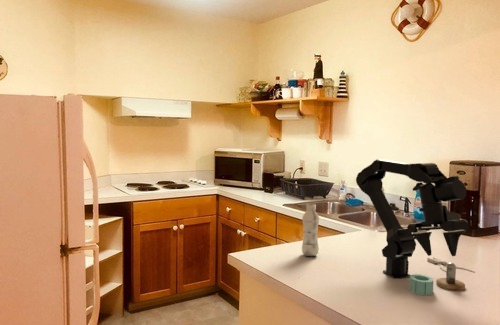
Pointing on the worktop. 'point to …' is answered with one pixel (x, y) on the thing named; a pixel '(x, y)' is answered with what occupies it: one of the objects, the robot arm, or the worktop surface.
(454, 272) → the post stand
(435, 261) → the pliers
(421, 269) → the worktop surface
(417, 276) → the ring
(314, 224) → the plastic bottle
